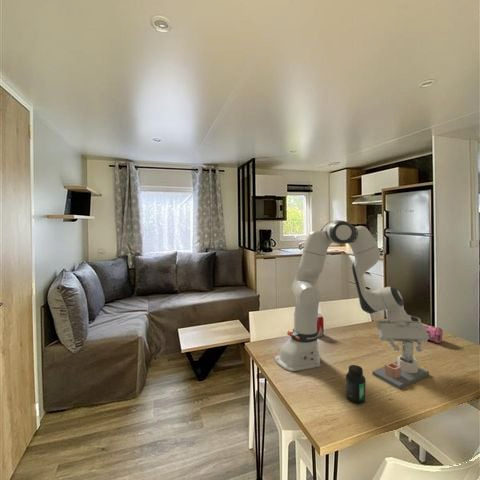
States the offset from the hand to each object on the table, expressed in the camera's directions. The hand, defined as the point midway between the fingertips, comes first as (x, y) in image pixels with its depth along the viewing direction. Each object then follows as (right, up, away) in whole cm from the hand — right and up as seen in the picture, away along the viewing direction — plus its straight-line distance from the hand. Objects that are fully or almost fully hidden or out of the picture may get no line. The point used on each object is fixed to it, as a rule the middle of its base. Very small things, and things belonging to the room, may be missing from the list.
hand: (408, 350), depth 118 cm
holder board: (-4, -10, -1) cm, 11 cm away
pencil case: (+30, -8, +37) cm, 48 cm away
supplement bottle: (-30, -12, -17) cm, 37 cm away
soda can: (-28, -8, +42) cm, 51 cm away
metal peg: (0, -8, +1) cm, 8 cm away
